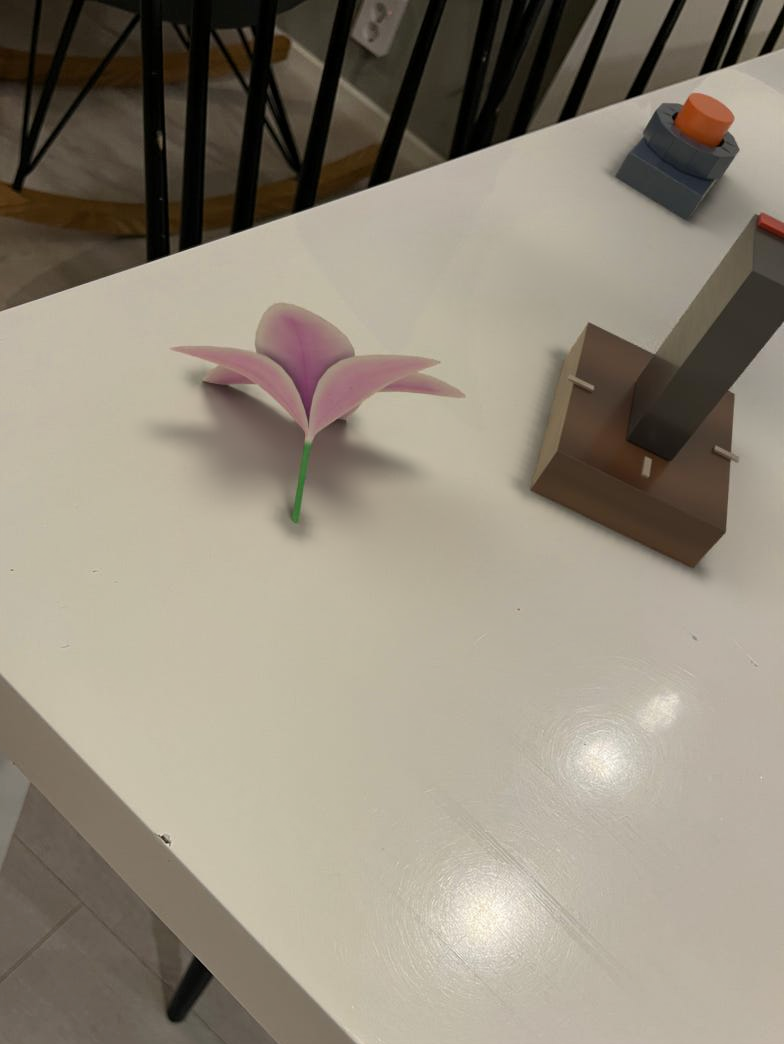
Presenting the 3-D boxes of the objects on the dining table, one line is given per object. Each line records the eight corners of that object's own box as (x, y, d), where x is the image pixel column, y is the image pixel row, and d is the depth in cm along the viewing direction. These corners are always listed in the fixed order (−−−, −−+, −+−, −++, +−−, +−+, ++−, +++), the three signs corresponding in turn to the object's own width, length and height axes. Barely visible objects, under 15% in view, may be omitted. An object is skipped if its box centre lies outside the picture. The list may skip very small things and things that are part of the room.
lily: (447, 512, 52) (489, 307, 49) (398, 587, 42) (447, 333, 38) (214, 461, 55) (237, 262, 51) (113, 519, 44) (132, 274, 40)
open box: (671, 461, 54) (808, 291, 46) (626, 439, 53) (755, 265, 46) (678, 399, 57) (807, 232, 49) (636, 379, 57) (758, 208, 49)
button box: (687, 226, 77) (721, 175, 74) (609, 178, 77) (640, 125, 74) (720, 180, 83) (752, 132, 80) (647, 136, 84) (677, 87, 81)
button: (710, 155, 76) (728, 127, 75) (667, 128, 77) (683, 101, 75) (722, 139, 79) (739, 113, 77) (679, 114, 79) (696, 87, 77)
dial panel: (696, 575, 54) (735, 533, 52) (521, 490, 54) (552, 445, 51) (708, 435, 62) (742, 393, 59) (556, 361, 61) (584, 316, 59)
